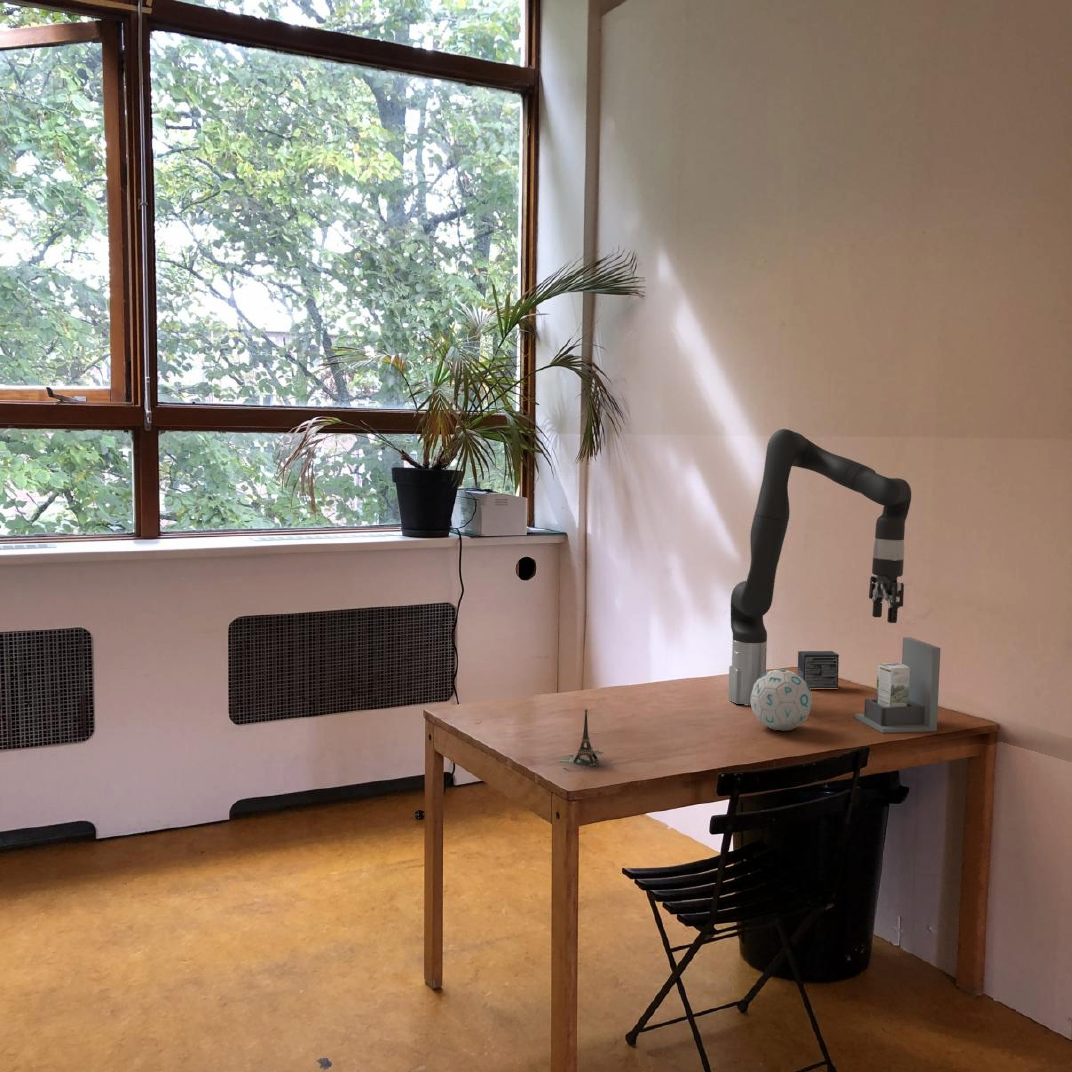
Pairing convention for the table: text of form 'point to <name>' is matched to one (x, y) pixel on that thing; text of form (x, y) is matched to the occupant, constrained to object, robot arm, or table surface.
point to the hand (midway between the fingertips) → (884, 619)
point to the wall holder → (911, 693)
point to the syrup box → (892, 685)
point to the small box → (819, 668)
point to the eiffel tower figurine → (583, 750)
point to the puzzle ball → (781, 700)
